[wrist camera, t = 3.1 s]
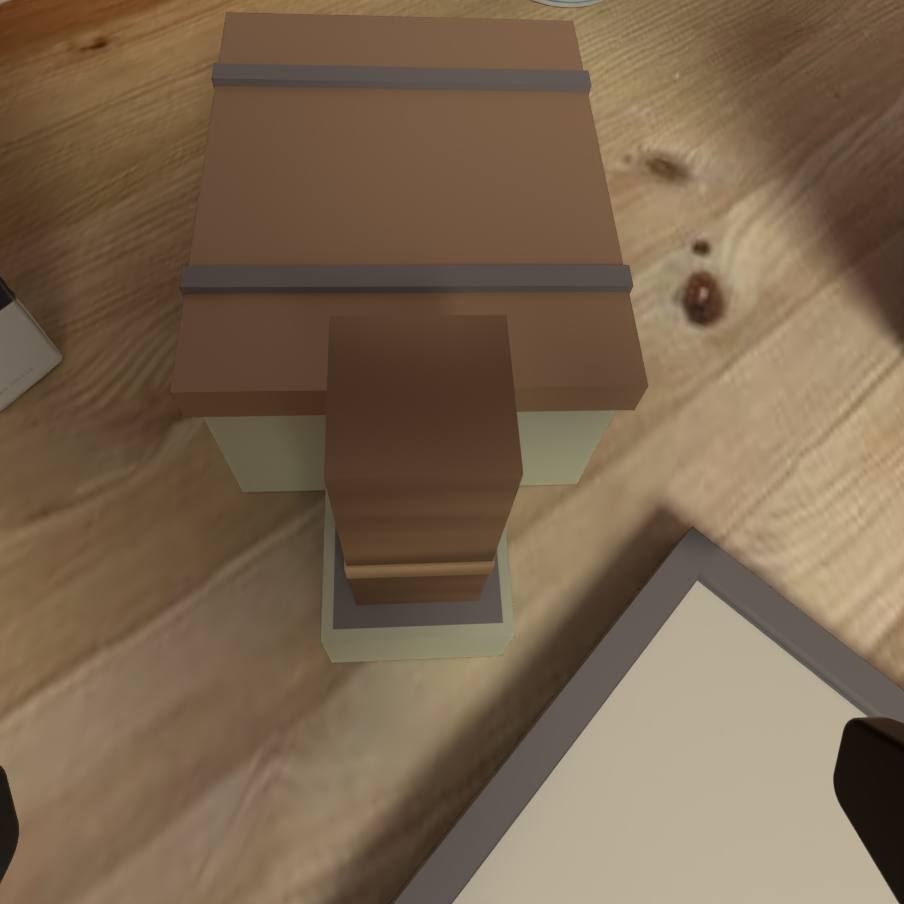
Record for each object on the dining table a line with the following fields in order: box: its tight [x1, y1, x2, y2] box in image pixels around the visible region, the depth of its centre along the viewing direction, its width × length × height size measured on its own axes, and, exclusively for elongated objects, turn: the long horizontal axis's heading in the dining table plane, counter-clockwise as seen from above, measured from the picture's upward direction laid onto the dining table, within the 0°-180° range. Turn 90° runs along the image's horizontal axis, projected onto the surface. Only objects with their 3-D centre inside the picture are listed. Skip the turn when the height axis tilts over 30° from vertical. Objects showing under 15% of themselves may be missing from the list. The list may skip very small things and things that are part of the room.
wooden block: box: [324, 315, 523, 605], centre depth 16 cm, size 3×3×8 cm
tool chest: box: [170, 12, 648, 663], centre depth 22 cm, size 20×12×7 cm, turn 3°
